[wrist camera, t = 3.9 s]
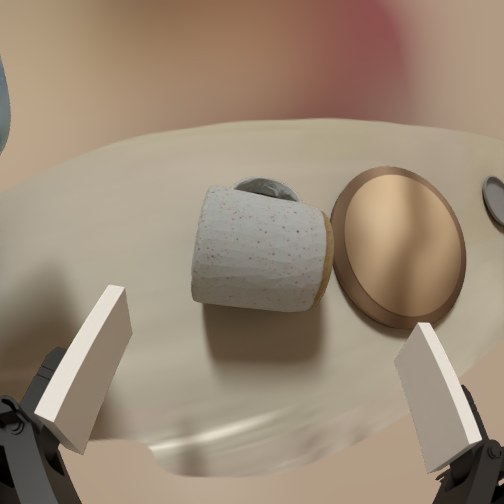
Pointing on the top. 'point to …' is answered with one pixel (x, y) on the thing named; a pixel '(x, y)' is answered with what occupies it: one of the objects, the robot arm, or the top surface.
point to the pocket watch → (494, 197)
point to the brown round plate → (397, 247)
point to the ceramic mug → (261, 248)
